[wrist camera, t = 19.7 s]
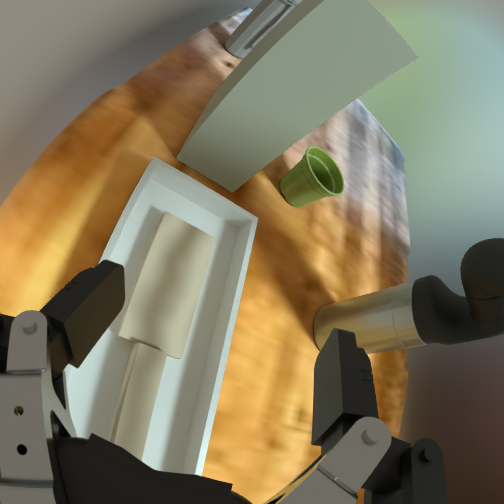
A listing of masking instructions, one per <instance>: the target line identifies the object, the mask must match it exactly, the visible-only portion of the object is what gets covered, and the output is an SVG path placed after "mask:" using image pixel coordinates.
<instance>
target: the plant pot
mask: <svg viewBox="0 0 504 504" xmlns="http://www.w3.org/2000/svg"><path fill="white" fill-rule="evenodd" d="M280 190H281V193H283V195H284V196H285V199H286V201H287V202H288V203H289V204H291V205H292V206H295V207H301V206H304V205H306V204H309V203H311V202H314V201H316V200H319V199H322V198H324V197H327V196H328V197H329V196H339V195H341V194H342V193H343V191H344V179H343V176H342V174H341V171H340V169H339V167H338V166H337V164H336V163H335V161H334V160H333V159H332V158H331V157H330V155H329V154H328V153H326V152H325V151H324V150H322V149H321V148H319V147H316V146H311V147H309V148H308V149H307V150H306V153H305V155H304V156H303V158H302V160H301V161H300V162H299V163H298V164H297V165H296V166H295V167H294V168H293V169H292V170H291V171H289V172H288V173H287V174H286V175H285V176H284V177H283V178H282V179H281V181H280Z"/></svg>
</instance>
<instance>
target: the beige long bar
mask: <svg viewBox="0 0 504 504" xmlns="http://www.w3.org/2000/svg"><path fill="white" fill-rule="evenodd" d="M215 241H216V238H215V237H213V236H211V235H209V234H207V233H206V232H204V231H202V230H200V229H198V228H196V227H195V226H193V225H191V224H189V223H187V222H186V221H184V220H182V219H180V218H178V217H177V216H175V215H173V214H171V213H169V212H167V211H166V212H165V213H164V214H163V216H162V217H161V218H160V220H159V223H158V225H157V227H156V229H155V232H154V234H153V236H152V239H151V241H150V244H149V246H148V248H147V251H146V253H145V256H144V258H143V261H142V263H141V266H140V269H139V271H138V274H137V276H136V279H135V282H134V284H133V287H132V290H131V292H130V295H129V298H128V301H127V304H126V306H125V309H124V312H123V315H122V318H121V321H120V324H119V327H118V330H117V333H116V337H118V338H121V339H123V340H126V341H128V342H131V343H133V345H132V348H131V351H130V355H129V358H128V362H127V365H126V369H125V372H124V376H123V380H122V383H121V387H120V391H119V395H118V399H117V403H116V407H115V411H114V415H113V420H112V424H111V429H110V433H109V438H108V441H110V442H112V443H114V444H116V445H118V446H120V447H122V448H124V449H125V450H127V451H128V452H129V453H131V454H132V455H134V456H135V457H136V458H138V459H139V460H141V461H142V457H143V452H144V448H145V443H146V439H147V434H148V430H149V425H150V421H151V417H152V413H153V409H154V404H155V400H156V396H157V392H158V388H159V385H160V381H161V377H162V373H163V369H164V365H165V362H166V358H167V356H168V357H171V358H174V359H182V357H183V353H184V349H185V345H186V342H187V338H188V334H189V331H190V327H191V323H192V320H193V316H194V312H195V309H196V305H197V302H198V298H199V295H200V291H201V288H202V284H203V281H204V278H205V274H206V271H207V267H208V264H209V261H210V257H211V254H212V251H213V247H214V244H215Z"/></svg>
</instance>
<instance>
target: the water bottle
mask: <svg viewBox="0 0 504 504" xmlns="http://www.w3.org/2000/svg"><path fill="white" fill-rule="evenodd" d="M301 1H302V0H262V1H261V2H260V4H259V5H258V6H257V7H256V8H255V9H254V10H253V11H252V12H251V13H250V14H249V15H248V16H247V17H246V18H245V20H244V21H243V22H242V23H241V24H240V25H239V26H238V27H237V29H236V30H235V31H234V32H233V33H232V34H231V36H230V37H229V38H228V39H227V40H226V42H225V48H226V49H227V51H228V52H229V53H231V54H232V55H233V56H235V57H237V58H242V59H244V58H245V57H246V56H247V54H248V53H249V52H250V51H251V50H252V49H253V48H254V47H255V46H256V45H257V44H258V43H259V42H260V41H261V40H262V39H263V38H264V37H265V36H266V35H267V34H268V33H269V32H270V31H271V30H272V29H273V28H274V27H275V26H276V25H277V24H278V23H279V22H280V21H281V20H282V19H283V18H284V17H285V16H286V15H287V14H288V13H289V12H290V11H291V10H292V9H294V8H295V7H296V6H297V5H298V4H299V3H300V2H301Z"/></svg>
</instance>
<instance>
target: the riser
mask: <svg viewBox="0 0 504 504" xmlns="http://www.w3.org/2000/svg"><path fill="white" fill-rule="evenodd" d="M416 59H418V56H417V55H416V54H415V53H414V51H413V50H412V49H411V47H410V46H409V45H408V44H407V42H406V41H405V40H404V39H403V38H402V36H401V35H400V34H399V33H398V32H397V31H396V30H395V28H394V27H393V26H392V25H391V24H390V23H389V22H388V21H387V20H386V18H385V17H384V16H383V15H382V14H381V13H380V12H379V11H378V10H377V9H376V8H375V7H374V6H373V5H372V4H371V3H370V2H369V1H368V0H302V1H301V2H300V3H299V4H298V5H297V6H296V7H295V8H294V9H292V10H291V11H290V12H289V13H288V14H287V15H286V16H285V17H284V18H283V19H282V20H281V21H280V22H279V23H278V24H277V25H276V26H275V27H274V28H273V29H272V30H271V31H270V32H269V33H268V34H267V35H266V36H265V37H264V38H263V39H262V40H261V41H260V42H259V43H258V44H257V45H256V46H255V47H254V48H253V49H252V50H251V51H250V52H249V53H248V54H247V56H246V57H245V58H244V59H243V60H242V61H241V62H240V63H239V64H238V66H237V67H236V68H235V69H234V70H233V71H232V72H231V74H230V75H229V76H228V77H227V78H226V79H225V80H224V82H223V83H222V84H221V85H220V86H219V88H218V89H217V90H216V91H215V93H214V94H213V96H212V97H211V99H210V101H209V102H208V104H207V105H206V107H205V109H204V110H203V112H202V114H201V115H200V117H199V119H198V120H197V122H196V124H195V125H194V127H193V129H192V131H191V132H190V134H189V136H188V138H187V139H186V141H185V143H184V145H183V147H182V148H181V150H180V152H179V154H178V156H177V158H176V159H177V160H179V161H180V162H182V163H184V164H185V165H187V166H189V167H190V168H192V169H194V170H196V171H197V172H199V173H201V174H202V175H204V176H206V177H207V178H209V179H210V180H212V181H214V182H215V183H217V184H219V185H220V186H222V187H224V188H225V189H227V190H228V191H230V192H232V193H233V192H234V191H236V190H237V189H238V188H239V187H240V186H242V185H243V184H244V183H245V182H247V181H248V180H249V179H250V178H251V177H253V176H254V175H255V174H256V173H258V172H259V171H260V170H261V169H263V168H264V167H265V166H267V165H268V164H269V163H270V162H272V161H273V160H274V159H275V158H277V157H278V156H279V155H281V154H282V153H283V152H284V151H286V150H287V149H288V148H290V147H291V146H292V145H294V144H295V143H296V142H298V141H299V140H300V139H301V138H303V137H304V136H305V135H307V134H308V133H309V132H311V131H312V130H314V129H315V128H316V127H318V126H319V125H320V124H322V123H323V122H324V121H326V120H327V119H329V118H330V117H331V116H333V115H334V114H335V113H337V112H338V111H340V110H341V109H342V108H344V107H345V106H347V105H348V104H350V103H351V102H352V101H354V100H355V99H357V98H358V97H359V96H361V95H362V94H364V93H365V92H367V91H368V90H370V89H371V88H372V87H374V86H376V85H377V84H379V83H380V82H382V81H383V80H385V79H386V78H388V77H389V76H391V75H392V74H394V73H395V72H397V71H399V70H400V69H401V68H403V67H405V66H406V65H408V64H410V63H411V62H413V61H414V60H416Z"/></svg>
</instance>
